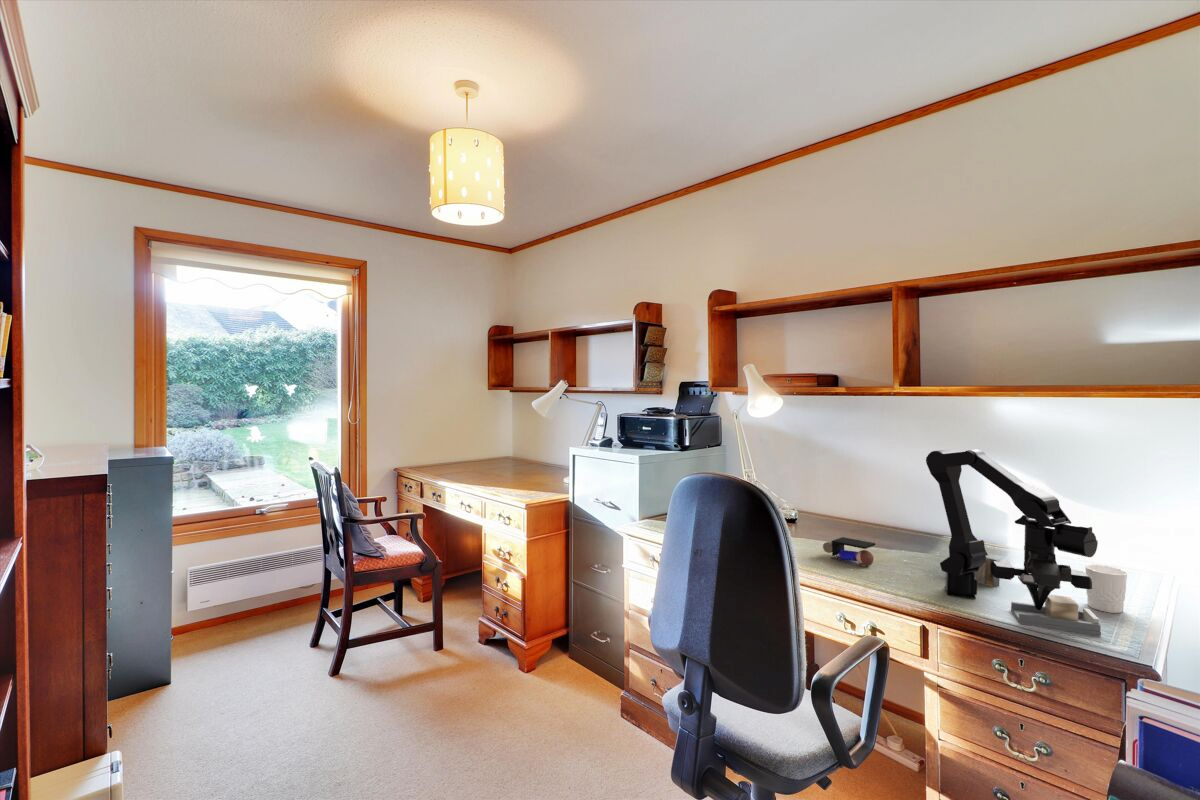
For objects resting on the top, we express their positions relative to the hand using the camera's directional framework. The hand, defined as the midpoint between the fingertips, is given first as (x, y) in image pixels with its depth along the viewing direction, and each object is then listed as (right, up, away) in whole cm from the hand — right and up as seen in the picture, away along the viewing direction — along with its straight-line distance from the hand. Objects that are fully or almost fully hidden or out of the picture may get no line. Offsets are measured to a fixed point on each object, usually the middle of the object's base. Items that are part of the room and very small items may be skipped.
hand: (1038, 609), depth 135 cm
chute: (+3, -3, -1) cm, 4 cm away
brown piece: (+3, -3, +27) cm, 28 cm away
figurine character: (-26, -2, +45) cm, 52 cm away
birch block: (+4, -2, -2) cm, 5 cm away
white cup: (+23, -3, +7) cm, 24 cm away
